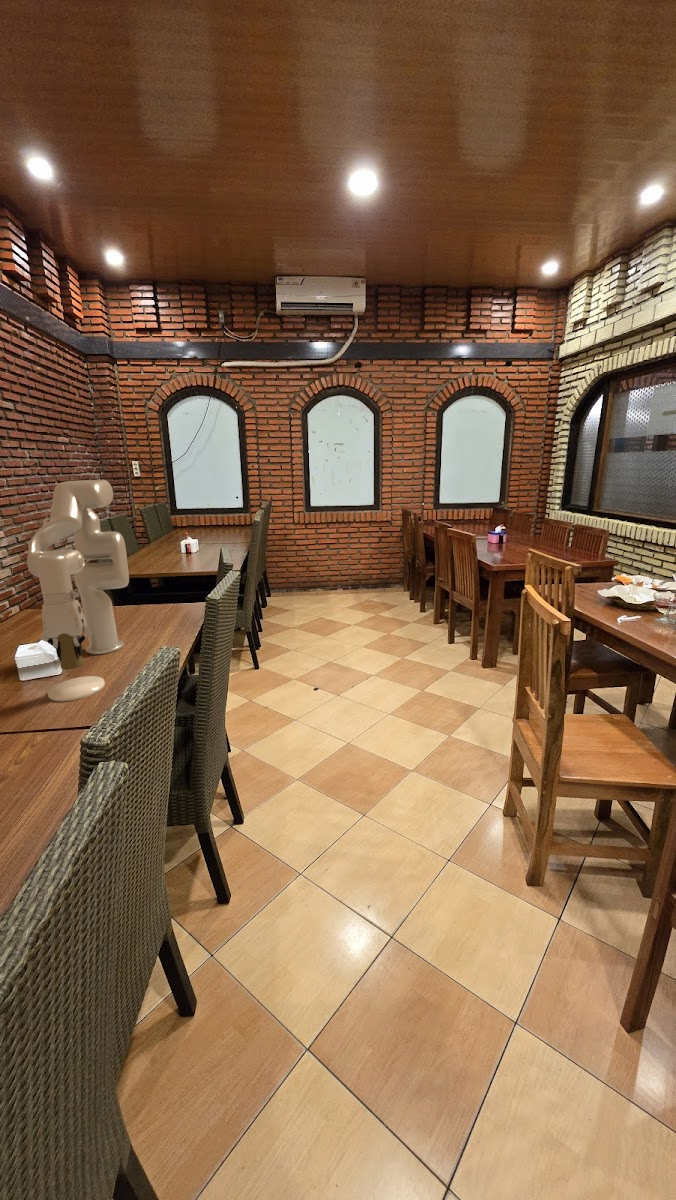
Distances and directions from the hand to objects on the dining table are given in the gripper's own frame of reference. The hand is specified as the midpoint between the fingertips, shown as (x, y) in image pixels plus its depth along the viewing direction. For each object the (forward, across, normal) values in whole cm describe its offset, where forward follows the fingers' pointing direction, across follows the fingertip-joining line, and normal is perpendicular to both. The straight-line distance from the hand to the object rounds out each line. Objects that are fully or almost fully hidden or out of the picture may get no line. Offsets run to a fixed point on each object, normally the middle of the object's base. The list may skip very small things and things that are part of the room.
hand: (70, 658), depth 140 cm
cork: (+2, 0, 0) cm, 2 cm away
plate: (+10, 0, 0) cm, 10 cm away
